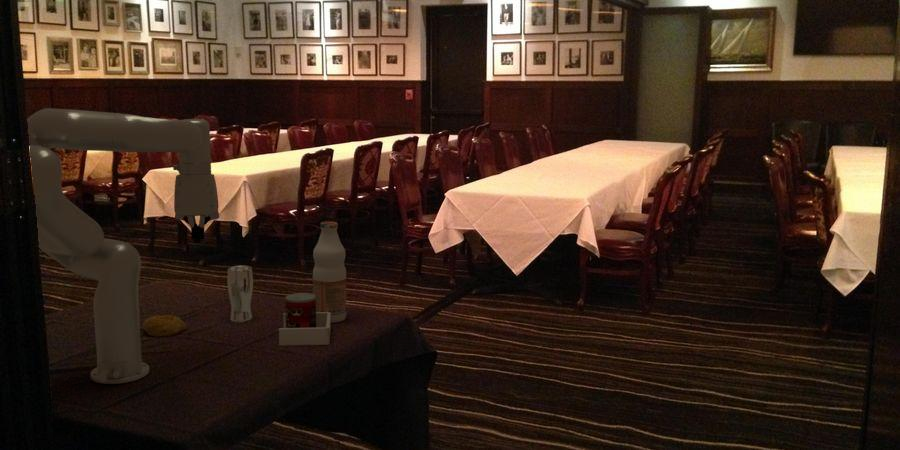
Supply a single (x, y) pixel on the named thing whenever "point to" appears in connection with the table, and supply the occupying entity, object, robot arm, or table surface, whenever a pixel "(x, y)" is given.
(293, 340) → the box
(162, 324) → the bagel
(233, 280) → the beer glass
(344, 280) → the fruit juice
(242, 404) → the table surface
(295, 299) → the canned food
